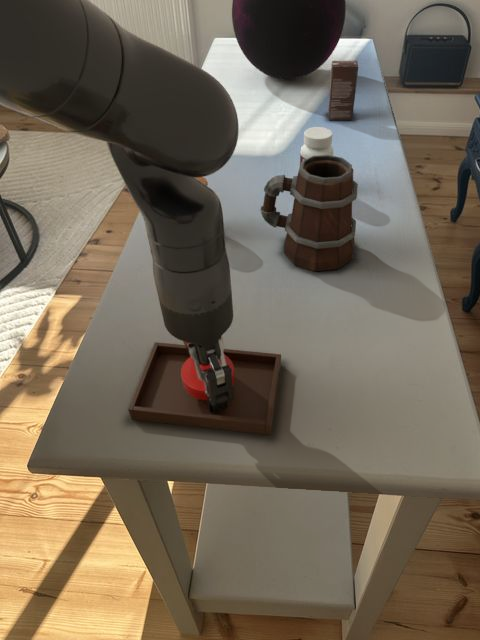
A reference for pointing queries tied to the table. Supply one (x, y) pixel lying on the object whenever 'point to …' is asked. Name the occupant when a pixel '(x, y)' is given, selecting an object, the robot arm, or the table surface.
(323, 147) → the pill bottle
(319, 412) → the table surface
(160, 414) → the tray
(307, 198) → the mug
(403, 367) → the table surface
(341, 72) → the box
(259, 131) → the table surface
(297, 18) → the dark purple ball
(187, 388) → the lid
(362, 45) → the table surface
